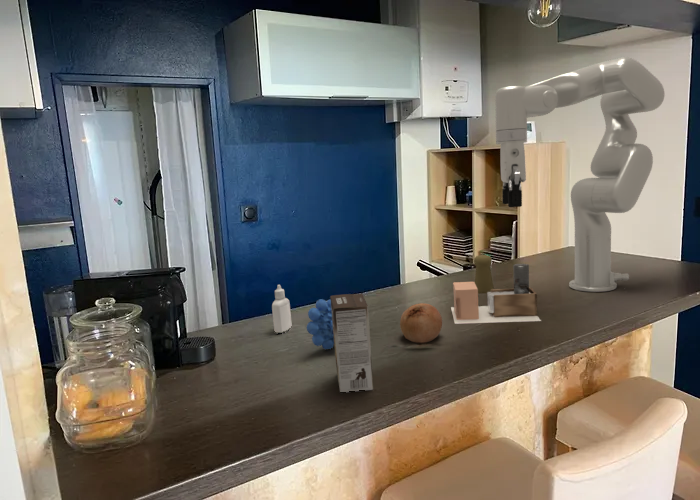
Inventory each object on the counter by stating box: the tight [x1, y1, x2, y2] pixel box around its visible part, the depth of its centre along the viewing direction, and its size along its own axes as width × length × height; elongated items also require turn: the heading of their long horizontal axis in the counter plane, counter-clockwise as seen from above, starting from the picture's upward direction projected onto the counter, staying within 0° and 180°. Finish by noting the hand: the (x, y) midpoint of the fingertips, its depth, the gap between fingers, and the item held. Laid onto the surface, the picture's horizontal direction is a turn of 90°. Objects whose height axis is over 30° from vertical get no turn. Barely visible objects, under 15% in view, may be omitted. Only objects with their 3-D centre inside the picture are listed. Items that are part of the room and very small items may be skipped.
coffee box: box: [329, 293, 374, 393], centre depth 97 cm, size 9×6×16 cm
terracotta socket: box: [452, 281, 479, 320], centre depth 131 cm, size 5×8×8 cm, turn 173°
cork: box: [473, 254, 495, 295], centre depth 155 cm, size 6×6×11 cm
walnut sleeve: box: [491, 287, 538, 317], centre depth 129 cm, size 10×6×6 cm, turn 83°
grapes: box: [306, 298, 334, 350], centre depth 115 cm, size 12×7×12 cm, turn 138°
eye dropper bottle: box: [271, 284, 293, 333], centre depth 132 cm, size 4×6×12 cm
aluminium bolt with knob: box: [486, 263, 531, 313], centre depth 129 cm, size 10×4×11 cm, turn 83°
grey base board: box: [450, 305, 542, 325], centre depth 130 cm, size 20×14×1 cm
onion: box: [399, 302, 443, 344], centre depth 117 cm, size 10×9×10 cm
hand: (511, 205), depth 134 cm, fingers open, 9 cm apart
